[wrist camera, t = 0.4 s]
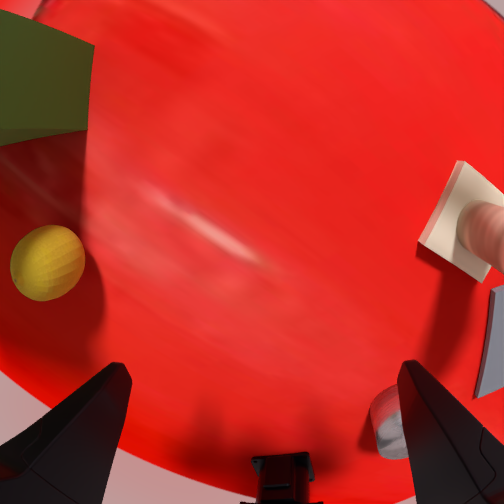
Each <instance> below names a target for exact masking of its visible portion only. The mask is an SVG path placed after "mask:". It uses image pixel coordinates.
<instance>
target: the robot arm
mask: <svg viewBox="0 0 504 504" xmlns="http://www.w3.org/2000/svg"><path fill="white" fill-rule="evenodd" d="M131 387H132V379H131V376H130V374H129V372H128V371H127V369H126V367H125V365H124V364H123V363H119V362H112V363H110V364H109V365H107V366H106V367H105V368H104V369H102V370H101V371H100V372H99V373H97V374H96V375H95V376H93V377H92V378H91V379H90V380H88V381H87V382H86V383H85V384H83V385H82V386H81V387H79V388H78V389H77V390H76V391H74V392H73V393H72V394H71V395H69V396H68V397H67V398H65V399H64V400H63V401H62V402H60V403H59V404H58V405H57V406H55V407H54V408H53V409H51V410H50V411H49V412H48V413H46V414H45V415H44V416H43V417H42V418H40V419H39V420H37V421H36V422H35V423H34V424H32V425H31V426H29V427H28V428H27V429H26V430H24V431H23V432H21V433H20V434H18V435H17V436H15V437H14V438H12V439H10V440H9V441H7V442H6V443H4V444H2V445H1V446H0V504H102V500H103V497H104V493H105V489H106V485H107V481H108V477H109V474H110V470H111V466H112V463H113V459H114V456H115V452H116V449H117V446H118V442H119V439H120V435H121V432H122V429H123V425H124V422H125V418H126V413H127V407H128V402H129V397H130V392H131ZM397 387H398V395H399V403H400V411H401V420H402V427H403V432H404V437H405V441H406V446H407V451H408V456H409V461H410V466H411V471H412V477H413V483H414V489H415V495H416V501H417V504H504V445H503V444H502V443H500V442H499V441H498V440H497V439H496V438H495V437H494V436H493V435H492V434H491V433H490V432H489V431H488V430H487V429H486V428H485V427H483V425H482V424H481V423H480V422H479V421H478V420H477V419H476V418H475V417H474V416H473V415H472V414H471V413H470V412H469V411H468V410H467V409H466V408H465V407H464V406H463V405H462V404H461V403H460V402H459V401H458V400H457V399H456V398H455V397H454V396H453V395H452V394H451V393H450V392H449V391H448V390H447V389H446V388H445V387H444V386H443V385H442V384H441V383H440V382H439V381H438V380H436V379H435V378H434V377H433V376H432V375H431V374H430V373H429V372H428V371H427V370H426V369H425V368H424V367H423V366H422V365H421V364H420V363H419V362H418V361H416V360H407V361H404V362H403V363H402V366H401V369H400V372H399V375H398V378H397ZM251 463H252V465H253V467H254V469H255V471H256V473H257V475H258V477H259V480H258V488H257V496H256V503H246V502H240V504H323V501H321V502H317V503H309V482H312V481H314V480H315V476H314V472H313V468H312V463H311V459H310V455H309V453H307V452H302V453H294V454H284V455H274V456H261V457H252V458H251Z"/></svg>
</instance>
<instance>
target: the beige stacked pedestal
mask: <svg viewBox="0 0 504 504" xmlns="http://www.w3.org/2000/svg"><path fill="white" fill-rule="evenodd" d="M418 241H419V242H420V243H421V244H423V245H424V246H426V247H427V248H429V249H430V250H432V251H434V252H435V253H437V254H438V255H440V256H441V257H443V258H445V259H446V260H448V261H449V262H451V263H452V264H454V265H455V266H457V267H458V268H460V269H461V270H463V271H464V272H466V273H467V274H469V275H470V276H472V277H473V278H475V279H476V280H477V281H479V282H480V283H482V282H483V280H484V278H485V277H486V275H487V273H488V271H489V269H490V268H491V266H492V267H494V268H495V269H497V270H498V271H500V272H501V273H503V274H504V194H502V193H501V192H500V191H499V190H498V189H497V188H496V187H495V186H494V185H493V184H491V183H490V182H489V181H488V180H487V179H486V178H485V177H483V176H482V175H481V174H480V173H479V172H477V171H476V170H475V169H474V168H473V167H471V166H470V165H469V164H468V163H466V162H465V161H457V162H456V165H455V167H454V169H453V171H452V174H451V176H450V178H449V180H448V182H447V185H446V187H445V189H444V191H443V193H442V195H441V197H440V199H439V201H438V203H437V205H436V207H435V209H434V211H433V213H432V215H431V217H430V219H429V221H428V223H427V225H426V227H425V229H424V231H423V232H422V234H421V236H420V238H419V240H418Z"/></svg>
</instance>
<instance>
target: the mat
mask: <svg viewBox="0 0 504 504" xmlns="http://www.w3.org/2000/svg"><path fill="white" fill-rule="evenodd" d="M502 387H504V285H502V286H499V287H496V288H493V289H491V297H490V308H489V317H488V326H487V333H486V340H485V346H484V352H483V358H482V363H481V368H480V373H479V378H478V382H477V386H476V391H475V395H476V397H477V398H480V397H482V396H484V395H487V394H489V393H491V392H493V391H496V390H498V389H500V388H502Z"/></svg>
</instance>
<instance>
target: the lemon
mask: <svg viewBox="0 0 504 504" xmlns="http://www.w3.org/2000/svg"><path fill="white" fill-rule="evenodd" d="M84 267H85V251H84V248H83V245H82V243H81V241H80V239H79V238H78V237H77V235H76V234H75V233H73V232H72V231H71V230H70V229H68V228H65V227H63V226H59V225H47V226H43V227H39V228H36V229H34V230H33V231H31V232H30V233H28V234H27V235H26V236H25V237H23V238H22V239H21V240H20V241H19V242H18V244H17V245H16V247H15V249H14V250H13V253H12V256H11V261H10V271H11V276H12V279H13V282H14V284H15V286H16V287H17V289H18V290H19V291H20V292H21V293H22V294H23V295H25V296H26V297H28V298H30V299H32V300H36V301H48V300H52V299H55V298H58V297H60V296H62V295H64V294H66V293H67V292H68V291H69V290H71V289H72V288H73V287H74V286H75V285H76V284H77V282H78V281H79V279H80V277H81V276H82V274H83V270H84Z"/></svg>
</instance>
